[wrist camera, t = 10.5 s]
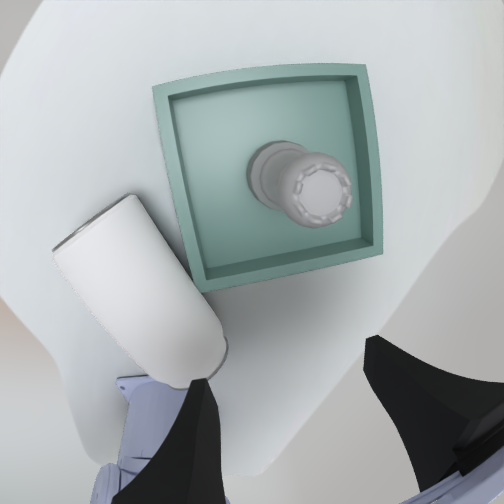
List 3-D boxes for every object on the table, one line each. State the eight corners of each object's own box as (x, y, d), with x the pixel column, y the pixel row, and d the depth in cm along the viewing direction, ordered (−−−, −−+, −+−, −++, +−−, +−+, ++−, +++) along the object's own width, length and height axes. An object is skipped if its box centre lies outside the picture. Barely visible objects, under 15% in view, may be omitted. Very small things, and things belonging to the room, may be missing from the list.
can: (112, 203, 12) (238, 375, 17) (143, 182, 18) (231, 316, 23) (30, 268, 12) (155, 406, 17) (75, 230, 18) (164, 348, 23)
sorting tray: (367, 242, 22) (383, 253, 19) (198, 277, 21) (197, 293, 18) (349, 71, 17) (365, 64, 14) (159, 93, 16) (151, 86, 14)
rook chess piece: (300, 131, 18) (357, 124, 10) (321, 194, 19) (383, 226, 12) (235, 154, 18) (250, 159, 10) (260, 217, 19) (289, 265, 12)
